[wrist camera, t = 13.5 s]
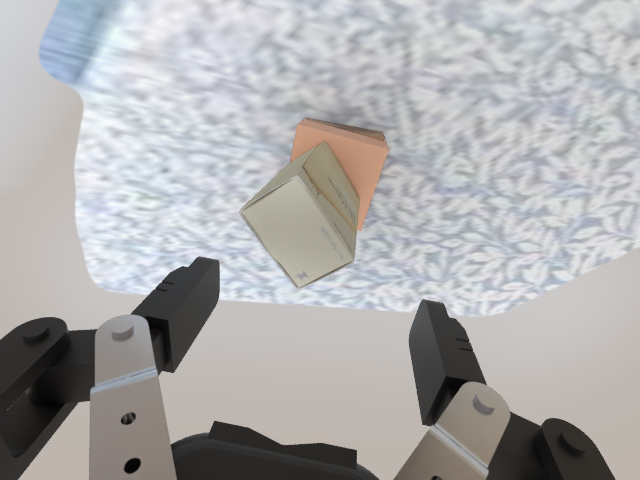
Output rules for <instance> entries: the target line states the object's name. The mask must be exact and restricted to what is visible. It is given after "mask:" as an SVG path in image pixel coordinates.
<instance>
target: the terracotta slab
mask: <svg viewBox="0 0 640 480" xmlns="http://www.w3.org/2000/svg"><path fill="white" fill-rule="evenodd" d="M324 141H326V142H327V143H328V145H329V146H330V148H331V149H332V151H333V153H334V154H335V156H336V158H337V159H338V161H339V162H340V164H341V166H342V167H343V169H344V171H345V172H346V174H347V176H348V177H349V179H350V181H351V183H352V184H353V186H354V188H355V190H356V191H357V193H358V195H359V196H360V205H359V214H358V225H357V230H359V231H361V229H362V226H363V223H364V220H365V217H366V214H367V212H368V209H369V206H370V203H371V200H372V197H373V194H374V191H375V188H376V185H377V183H378V180H379V177H380V174H381V171H382V168H383V165H384V162H385V159H386V156H387V153H388V151H389V148H388V146H387V143H386V141H382V140H378V139H375V138H371V137H368V136H364V135H360V134H357V133H353V132H349V131H346V130H342V129H339V128H335V127H331V126H328V125H324V124H321V123H317V122H313V121H310V120H306V119H303V120H302V121H301V122H300V123H299V124H298V125H297V130H296V135H295V140H294V145H293V150H292V155H291V160H290V162H292V161H293V160H295V159H296V158H298V157H300V156H301V155H303V154H304V153H306V152H307V151H309V150H310V149H312V148H314V147H315V146H317V145H319V144H320V143H322V142H324Z"/></svg>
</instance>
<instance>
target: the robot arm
mask: <svg viewBox="0 0 640 480" xmlns="http://www.w3.org/2000/svg"><path fill="white" fill-rule="evenodd" d="M219 292H220V271H219V261H218V260H216V259H210V258H205V257H200V256H199V257H197V258H196V259H195V260H194V261H193V263H192V264H191V265H190V266H189V267H184V266H182V267H180V268H178V269H176V270H174V271H172V272H170V273H169V274H168V276H167V277H166V278H165V279H164V280H163V281H162V283H160V284H159V285H158V286H157V287H156V289H155V290H153V291H152V292H151V293H150V294H149V295H148V296H147V298H145V300H144V301H143V302H142V303H141V304H140V305H139V306H138V307H137V308H136V309H135V310H134V311H133V312H132V313H131V314H130V315H122V316H118V317H115V318H112V319H110V320H108V321H106V322H105V323H103V324H102V325H101V326H100V327H99V328H98V329H95V330H77V331H68V329H67V325H66V323H65V322H64V321H63V320H62V319H59V318H55V317H45V318H39V319H35V320H31V321H28V322H26V323H24V324H21V325H20V326H18V327H16V328H15V329H13V330H12V331H11V332H9V333H8V334H7V335H6V336H5V337H3V338H2V339H1V340H0V480H18V479H19V478H20V476H21V475H22V474H23V472H24V471H25V470H26V469H27V467H28V466H29V465H30V463H31V462H32V461H33V460H34V458H35V457H36V456H37V455H38V453H39V452H40V451H41V449H42V448H43V447H44V446H45V444H46V443H47V442H48V441H49V439H50V438H51V437H52V435H53V434H54V433H55V432H56V430H57V429H58V428H59V427H60V425H61V424H62V423H63V421H64V420H65V419H66V417H67V416H68V415H69V414H70V412H71V411H72V410H73V409H74V407H75V406H76V405H77V404H78V402H83V401H90V448H89V480H379V479H378V478H377V477H376V476H375V475H374V474H373V473H371V472H370V471H369V470H367V469H366V468H364V467H363V466H361V465H359V464H357V450H353V449H348V448H343V447H338V446H333V445H329V444H324V443H316V444H315V443H313V444H298V445H281V444H279V443H277V442H275V441H273V440H271V439H269V438H267V437H266V436H264V435H262V434H260V433H258V432H256V431H254V430H252V429H250V428H247V427H242V426H237V425H232V424H227V423H222V422H218V421H214V423H213V425H212V428H211V430H210V433H202V434H196V435H192V436H189V437H186V438H184V439H182V440H179V441H177V442H175V443H173V444H170V439H169V434H168V428H167V423H166V417H165V412H164V406H163V400H162V395H161V389H160V384H159V378H158V376H159V374H160V373H161V372H162V371H166V372H171V373H174V372H175V370H176V369H177V367H178V365H179V364H180V362H181V361H182V359H183V357H184V356H185V354H186V353H187V351H188V349H189V348H190V346H191V345H192V343H193V342H194V340H195V338H196V337H197V335H198V334H199V332H200V330H201V329H202V327H203V326H204V324H205V322H206V321H207V319H208V318H209V316H210V314H211V313H212V311H213V310H214V308H215V306H216V304H217V302H218V298H219ZM409 348H410V354H411V360H412V365H413V371H414V377H415V383H416V389H417V395H418V400H419V407H420V413H421V419H422V424H423V425H427V426H431V428H430V429H429V430H428V431H427V433H426V434H425V436H424V437H423V439H422V440H421V441H420V443H419V444H418V446H417V447H416V449H415V450H414V451H413V453H412V454H411V456H410V457H409V458H408V460H407V461H406V463H405V464H404V465H403V467H402V468H401V470H400V471H399V473H398V474H397V475H396V477H395V478H394V480H615V478H614V476H613V474H612V473H611V471H610V469H609V467H608V466H607V464H606V462H605V460H604V458H603V457H602V455H601V453H600V451H599V450H598V448H597V447H596V445H595V444H594V443H593V441H592V440H591V439H590V438H589V437H588V436H587V435H585V433H584V432H582V431H581V430H580V429H578V428H577V427H575V426H574V425H572V424H570V423H568V422H566V421H564V420H561V419H556V418H550V419H547V420H545V421H544V423H543V424H542V425H541V426H539V425H537V424H535V423H533V422H531V421H529V420H527V419H524V418H522V417H520V416H518V415H516V414H514V413H512V412H511V411H510V410H509V407H508V405H507V404H506V402H505V400H504V399H503V398H502V397H501V396H500V395H499V394H498V393H497V392H496V391H495V390H493V389H492V388H490V387H488V386H487V384H486V381H485V379H484V377H483V374H482V371H481V369H480V366H479V364H478V361H477V359H476V356H475V354H474V352H473V349H472V346H471V343H469V338H468V336H467V333H466V331H465V329H464V328H463V327H462V326H461V324H460V323H459V322H458V321H457V320H456V319H454V318H449V316H448V314H447V311H446V308H445V305H444V304H443V303H440V302H435V301H430V300H425V299H423V300H422V301H421V303H420V305H419V308H418V310H417V313H416V316H415V319H414V321H413V324H412V327H411V330H410V334H409ZM11 405H12V406H11ZM10 406H11V407H10ZM9 407H10V408H9ZM8 408H9V409H8ZM7 409H8V410H7Z"/></svg>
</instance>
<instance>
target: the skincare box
mask: <svg viewBox="0 0 640 480" xmlns="http://www.w3.org/2000/svg"><path fill="white" fill-rule="evenodd" d="M359 205H360V196H359V195H358V193H357V191H356V190H355V188H354V186H353V184H352V183H351V181H350V179H349V177H348V176H347V174H346V172H345V171H344V169H343V167H342V166H341V164H340V162H339V161H338V159H337V158H336V156H335V154H334V153H333V151H332V149H331V148H330V146H329V145H328V143H327V142H326V141H324V142H322V143H320V144H319V145H317V146H315V147H314V148H312V149H310V150H309V151H307V152H306V153H304V154H303V155H301V156H300V157H298V158H296V159H295V160H293V161H292V162H290V163H289V164H288V165H287V166H286V167H285V168H284V169H283V170H282V171H280V172H279V173H278V174H277V175H276V176H275V177H274V178H273V179H272V180H271V181H270V182H269V183H268V184H267V185H266V186H265V187H264V188H263V189H262V190H261V191H259V192H258V193H257V194H256V195H255V196H254V197H253V198H252V199H251V200H250V201H249V202H248V203H247V204H246V205H245V206H244V207H242V208H241V209H240V211H239V214H240V215H241V217H242V218H243V220H244V221H245V222H246V224H247V225H248V226H249V228H250V229H251V230H252V232H253V233H254V235H255V236H256V237H257V239H258V240H259V241H260V243H261V244H262V245H263V247H264V248H265V249H266V251H267V252H268V253H269V255H270V256H271V257H272V258H273V260H274V261H275V262H276V264H277V265H278V266H279V267H280V269H281V270H282V271H283V272H284V274H285V275H286V276H287V278H288V279H289V280H290V281H291V283H292V284H293V285H294V287H295V288H296V289H297V290H300V289H302V288H303V287H306V286H308V285H310V284H312V283H314V282H316V281H319V280H321V279H323V278H325V277H327V276H329V275H331V274H333V273H335V272H337V271H339V270H341V269H342V268H344V267H346V266H348V265H350V264H352V263H353V262H354V256H355V245H356V235H357V225H358V214H359Z"/></svg>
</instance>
